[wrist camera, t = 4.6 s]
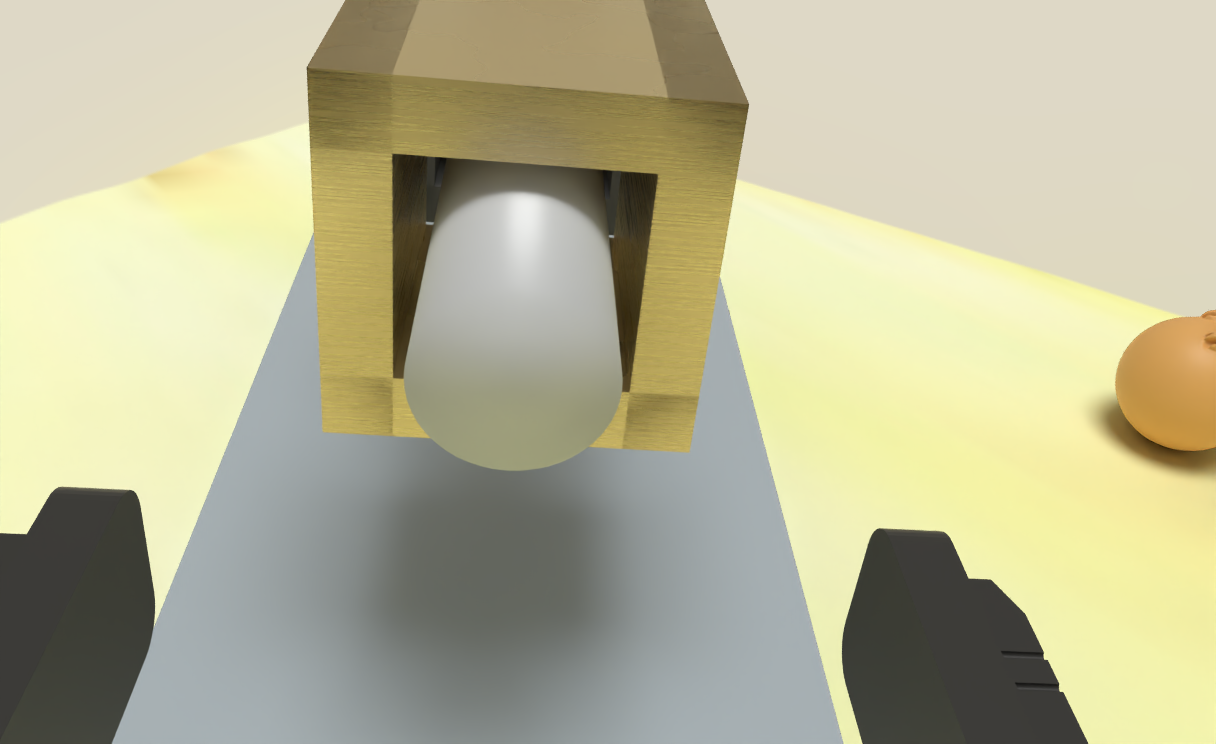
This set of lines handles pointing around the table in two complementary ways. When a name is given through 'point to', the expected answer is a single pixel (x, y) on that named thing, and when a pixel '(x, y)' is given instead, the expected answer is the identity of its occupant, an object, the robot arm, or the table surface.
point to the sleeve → (530, 134)
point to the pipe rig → (489, 527)
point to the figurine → (1172, 383)
